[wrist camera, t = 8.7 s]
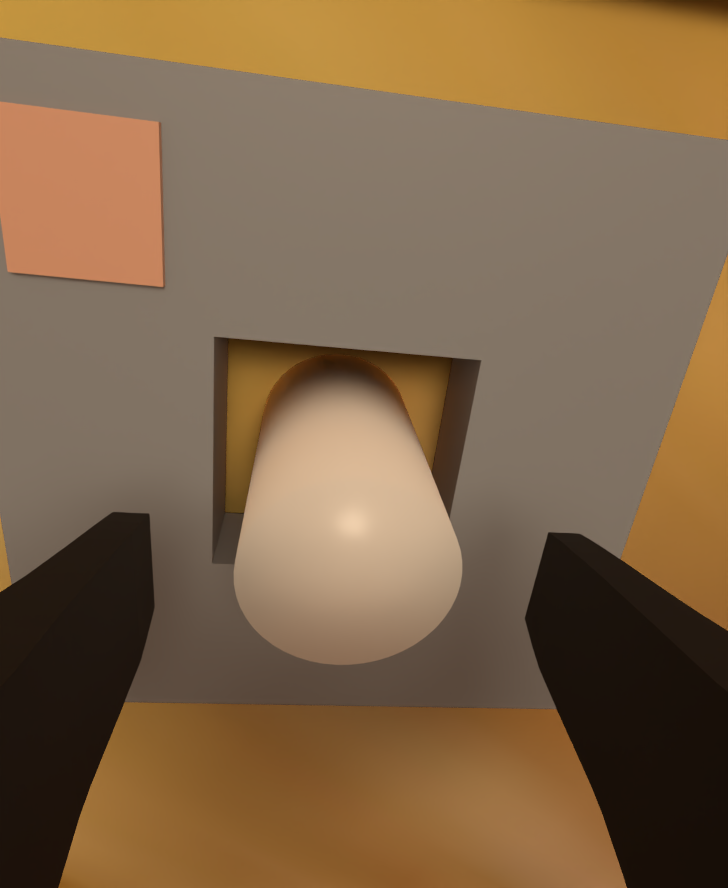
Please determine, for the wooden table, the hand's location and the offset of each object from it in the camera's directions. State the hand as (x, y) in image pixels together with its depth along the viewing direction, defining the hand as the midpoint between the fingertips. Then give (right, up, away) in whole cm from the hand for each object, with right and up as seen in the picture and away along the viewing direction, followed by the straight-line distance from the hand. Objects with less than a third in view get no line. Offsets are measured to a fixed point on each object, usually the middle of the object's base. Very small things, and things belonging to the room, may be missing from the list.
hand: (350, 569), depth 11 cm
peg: (-1, +3, +6) cm, 7 cm away
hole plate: (-1, +3, +6) cm, 7 cm away
